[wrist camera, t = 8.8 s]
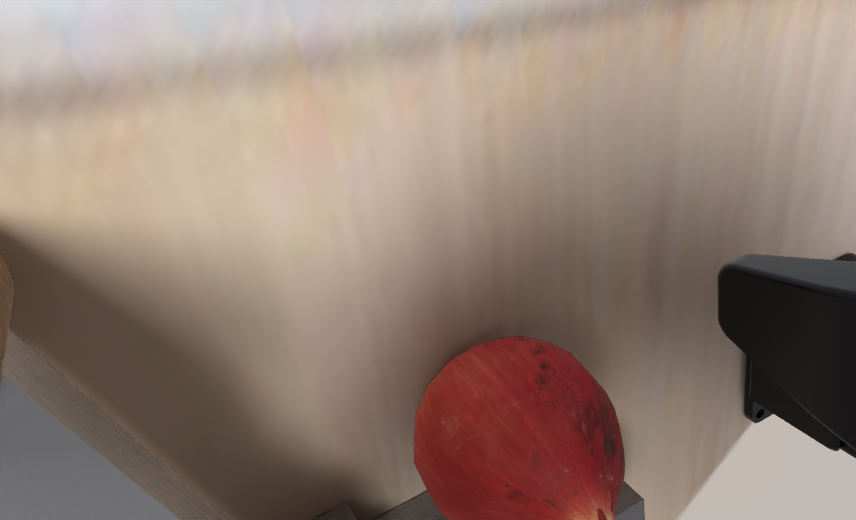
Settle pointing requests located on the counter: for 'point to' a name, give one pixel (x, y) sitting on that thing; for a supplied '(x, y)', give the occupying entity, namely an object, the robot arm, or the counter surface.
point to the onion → (519, 436)
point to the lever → (73, 448)
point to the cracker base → (423, 516)
